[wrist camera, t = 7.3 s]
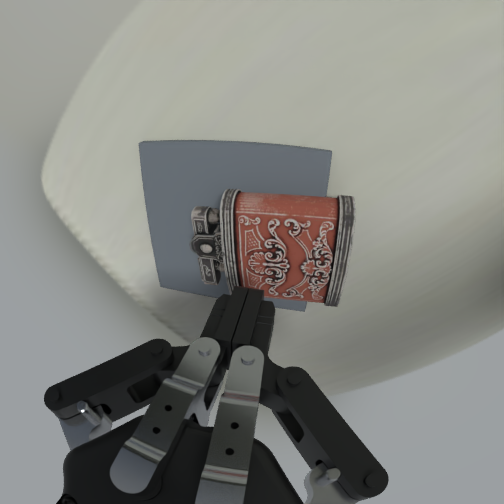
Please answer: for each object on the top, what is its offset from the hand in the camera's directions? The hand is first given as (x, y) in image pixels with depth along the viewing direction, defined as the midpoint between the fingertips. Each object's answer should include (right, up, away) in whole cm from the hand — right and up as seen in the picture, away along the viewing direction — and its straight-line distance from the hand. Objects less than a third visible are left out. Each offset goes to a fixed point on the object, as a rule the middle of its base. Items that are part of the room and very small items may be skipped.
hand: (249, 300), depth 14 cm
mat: (-1, +4, +6) cm, 8 cm away
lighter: (+6, +2, +3) cm, 7 cm away
